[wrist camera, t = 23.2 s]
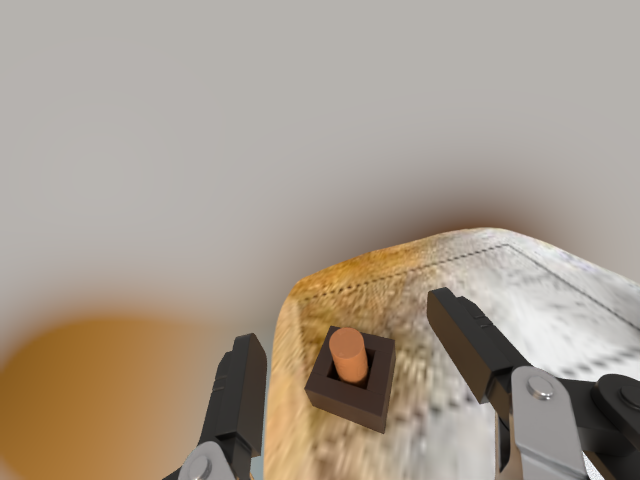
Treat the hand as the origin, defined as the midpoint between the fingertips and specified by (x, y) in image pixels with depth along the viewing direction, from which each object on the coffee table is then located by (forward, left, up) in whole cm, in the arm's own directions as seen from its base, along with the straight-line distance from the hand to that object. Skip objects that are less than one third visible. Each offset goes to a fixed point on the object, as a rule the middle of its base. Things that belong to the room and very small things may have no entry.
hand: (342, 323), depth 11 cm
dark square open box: (-10, -6, -28) cm, 30 cm away
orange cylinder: (-10, -6, -28) cm, 30 cm away
